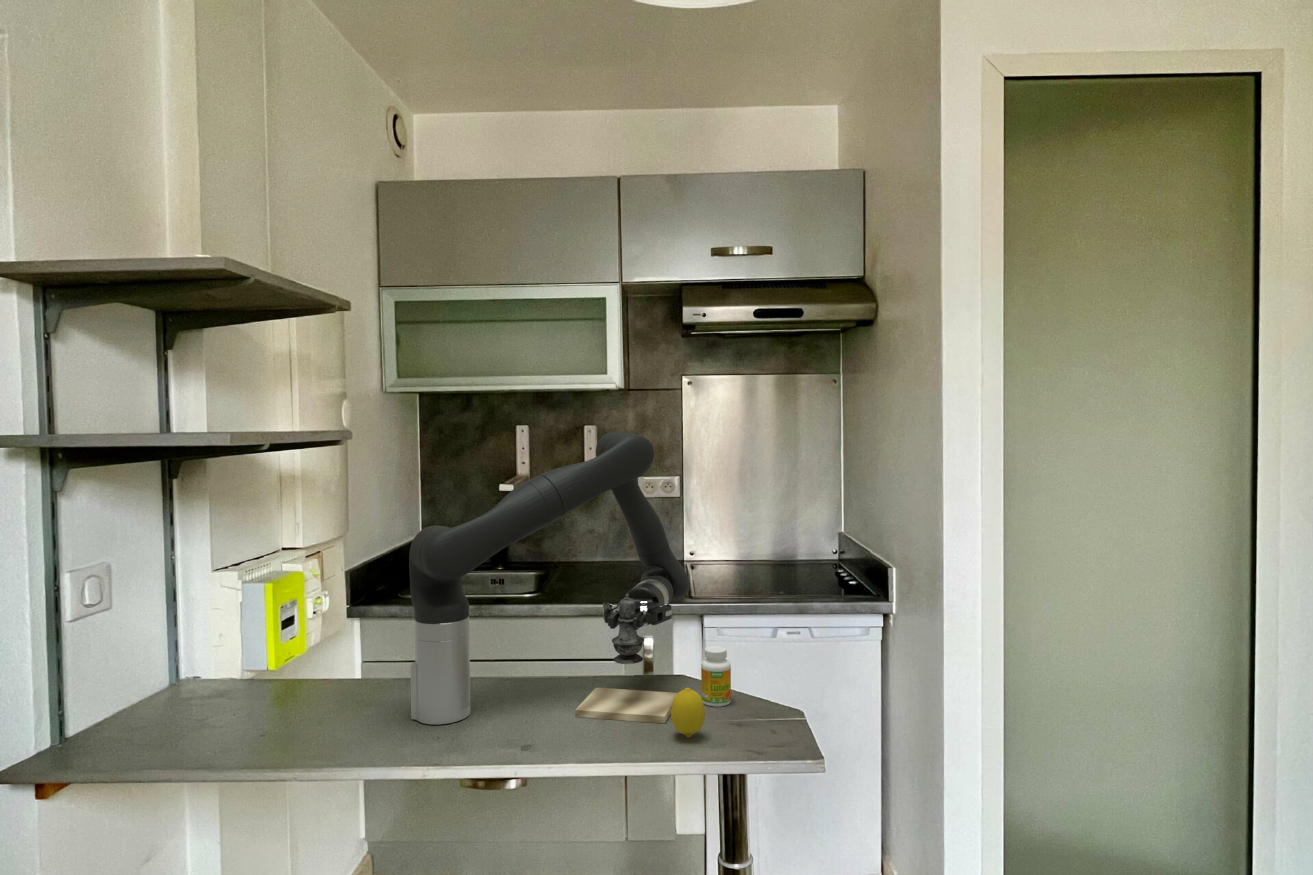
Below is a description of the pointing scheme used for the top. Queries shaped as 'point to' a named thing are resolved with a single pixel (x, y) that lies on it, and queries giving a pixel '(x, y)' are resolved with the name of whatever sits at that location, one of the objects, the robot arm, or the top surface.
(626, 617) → the salt shaker
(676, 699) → the lemon
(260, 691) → the top surface
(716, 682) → the supplement bottle
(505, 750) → the top surface
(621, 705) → the birch board
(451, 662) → the robot arm
